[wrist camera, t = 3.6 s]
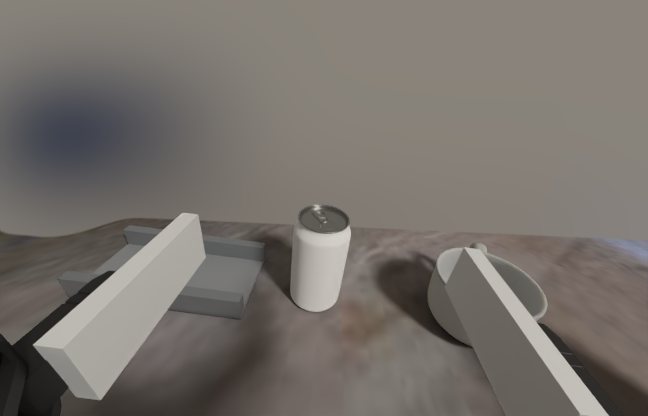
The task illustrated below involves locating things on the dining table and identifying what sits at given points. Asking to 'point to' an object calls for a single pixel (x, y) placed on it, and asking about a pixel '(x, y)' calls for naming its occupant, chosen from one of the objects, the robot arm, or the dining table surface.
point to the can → (318, 256)
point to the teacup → (510, 274)
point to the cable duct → (206, 283)
